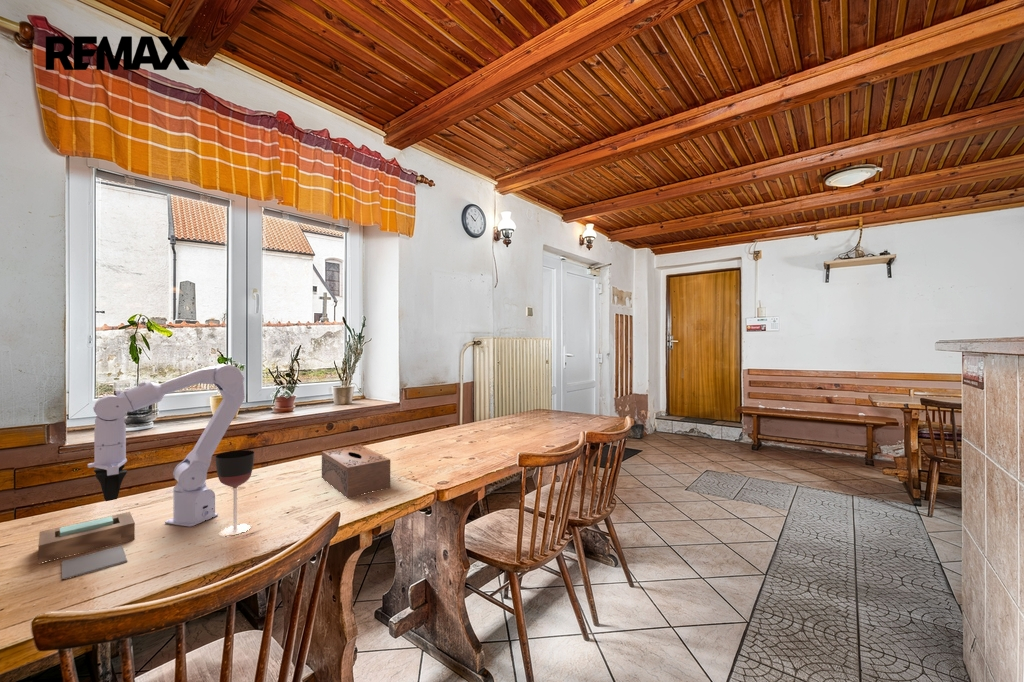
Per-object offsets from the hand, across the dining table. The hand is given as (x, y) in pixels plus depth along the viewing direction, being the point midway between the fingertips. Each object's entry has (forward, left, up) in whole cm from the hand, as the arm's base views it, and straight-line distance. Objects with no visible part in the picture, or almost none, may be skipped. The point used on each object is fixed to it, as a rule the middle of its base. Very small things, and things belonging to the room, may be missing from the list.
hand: (110, 497), depth 105 cm
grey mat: (-10, +9, -10) cm, 17 cm away
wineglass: (-26, -12, -11) cm, 30 cm away
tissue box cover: (-34, -52, -11) cm, 63 cm away
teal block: (+2, +4, -7) cm, 8 cm away
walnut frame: (+2, +3, -10) cm, 11 cm away
